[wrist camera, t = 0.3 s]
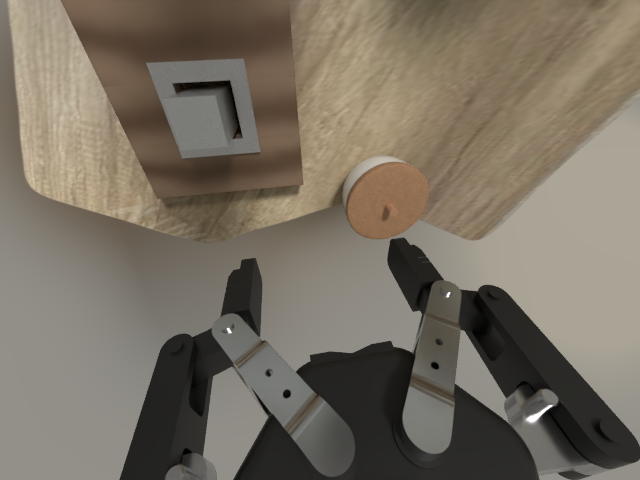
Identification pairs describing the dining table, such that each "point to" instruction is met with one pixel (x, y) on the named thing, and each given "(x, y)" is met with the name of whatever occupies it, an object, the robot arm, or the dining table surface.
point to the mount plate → (198, 66)
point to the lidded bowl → (384, 196)
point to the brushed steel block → (202, 117)
